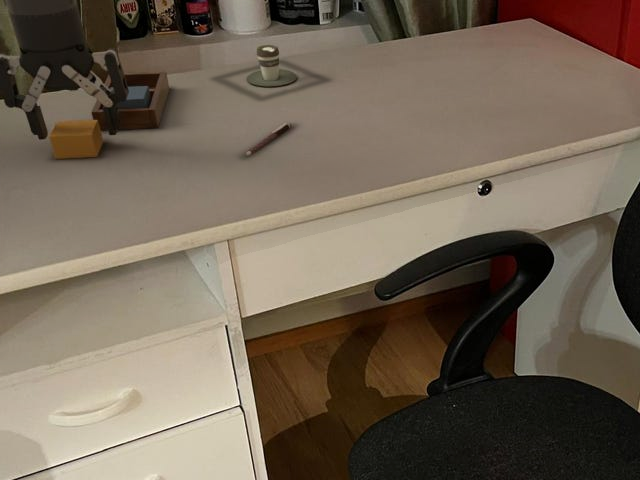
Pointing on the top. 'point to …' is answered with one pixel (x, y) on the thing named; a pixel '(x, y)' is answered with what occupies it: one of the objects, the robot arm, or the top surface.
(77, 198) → the top surface
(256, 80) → the coffee cup
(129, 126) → the back frame
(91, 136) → the orange block
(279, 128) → the pen
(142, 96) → the pad grey
